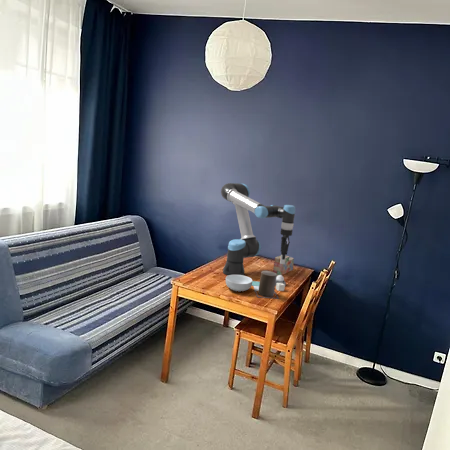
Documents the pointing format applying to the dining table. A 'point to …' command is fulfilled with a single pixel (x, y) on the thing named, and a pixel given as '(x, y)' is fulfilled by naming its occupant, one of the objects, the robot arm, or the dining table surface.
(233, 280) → the cereal bowl
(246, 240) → the robot arm
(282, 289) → the die
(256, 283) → the pad
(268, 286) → the pillar candle
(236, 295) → the dining table surface
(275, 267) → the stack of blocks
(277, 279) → the dome
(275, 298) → the ring
